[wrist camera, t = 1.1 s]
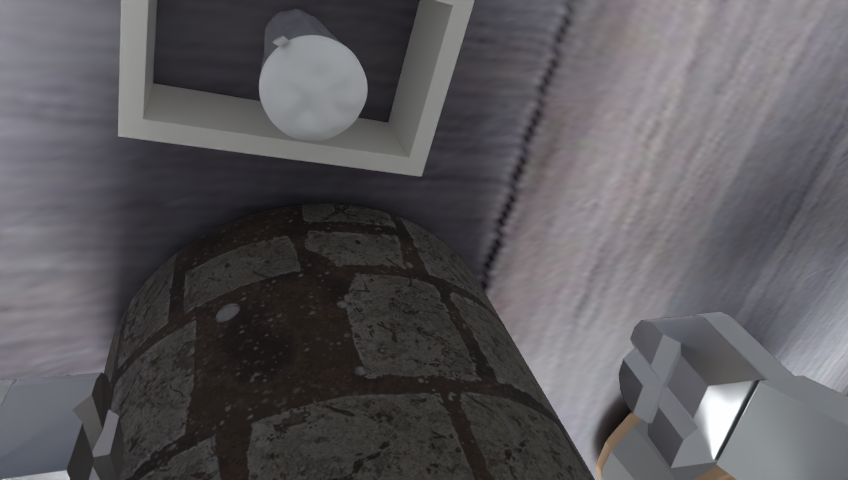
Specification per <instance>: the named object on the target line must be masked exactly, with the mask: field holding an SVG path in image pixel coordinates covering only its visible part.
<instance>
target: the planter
mask: <svg viewBox="0 0 848 480" xmlns="http://www.w3.org/2000/svg"><path fill="white" fill-rule="evenodd" d="M104 374H106V375H107V376H108V379H109V382H110V386H111V389H112V392H113V394H112V398H111V402H110V405H109V410H111V411H112V412H114V413H115V414H117V415H118V416H119V418H120V422H121V426H122V431H123V441H124V450H123V466H122V471H121V476H120V480H595V479H594V477H593V476H592V474H591V472H590V471H589V469H588V467H587V465H586V464H585V462H584V460H583V459H582V457H581V455H580V454H579V452H578V450H577V448H576V447H575V445H574V443H573V442H572V440H571V438H570V437H569V435H568V433H567V431H566V430H565V428H564V426H563V425H562V423H561V421H560V420H559V418H558V416H557V414H556V413H555V411H554V409H553V408H552V406H551V404H550V403H549V401H548V399H547V397H546V396H545V394H544V392H543V391H542V389H541V387H540V386H539V384H538V382H537V381H536V379H535V377H534V375H533V374H532V372H531V370H530V369H529V367H528V365H527V364H526V362H525V360H524V358H523V357H522V355H521V353H520V352H519V350H518V348H517V347H516V345H515V343H514V341H513V340H512V338H511V336H510V335H509V333H508V331H507V330H506V328H505V326H504V324H503V323H502V321H501V319H500V318H499V316H498V314H497V313H496V311H495V309H494V308H493V306H492V304H491V302H490V301H489V299H488V297H487V296H486V294H485V292H484V291H483V289H482V287H481V286H480V284H479V282H478V281H477V279H476V278H475V276H474V275H473V273H472V272H471V271H470V269H469V268H468V267H467V265H466V264H465V263H464V262H463V260H462V259H461V258H460V257H459V256H458V255H457V254H456V253H455V252H454V251H453V250H452V249H451V248H450V247H449V246H448V245H447V244H445V243H444V242H443V241H442V240H440V239H439V238H438V237H436V236H435V235H433V234H432V233H430V232H429V231H427V230H426V229H424V228H422V227H420V226H419V225H417V224H415V223H413V222H411V221H408V220H406V219H404V218H401V217H399V216H396V215H393V214H390V213H387V212H383V211H380V210H376V209H371V208H366V207H361V206H354V205H345V204H304V205H295V206H287V207H281V208H276V209H271V210H267V211H263V212H259V213H256V214H252V215H249V216H246V217H243V218H240V219H237V220H235V221H232V222H230V223H227V224H225V225H223V226H220V227H218V228H216V229H214V230H212V231H210V232H208V233H206V234H205V235H203V236H201V237H199V238H198V239H196V240H194V241H193V242H191V243H190V244H188V245H187V246H185V247H184V248H182V249H181V250H180V251H178V252H177V253H176V254H174V255H173V256H172V257H171V258H169V259H168V260H167V261H166V262H165V263H164V264H162V265H161V266H160V267H159V268H158V269H157V270H156V271H155V272H154V273H153V274H152V275H151V276H150V277H149V279H148V280H147V281H146V282H145V283H144V284H143V286H142V287H141V288H140V289H139V291H138V292H137V294H136V295H135V296H134V298H133V299H132V301H131V302H130V304H129V306H128V307H127V309H126V311H125V313H124V315H123V317H122V319H121V321H120V323H119V325H118V327H117V330H116V332H115V335H114V338H113V341H112V344H111V347H110V351H109V354H108V358H107V362H106V366H105V371H104Z"/></svg>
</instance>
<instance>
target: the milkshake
mask: <svg viewBox="0 0 848 480" xmlns="http://www.w3.org/2000/svg"><path fill="white" fill-rule="evenodd" d="M367 91H368V88H367V80H366V76H365V73H364V70H363V68H362V66H361V64H360V62H359V60H358V59H357V57H356V56H355V55H354V53H353V52H352V51H351V50H350V49H348V48H347V47H346V46H344V45H343V44H342V43H341V42H340V41H339V40H337V39H336V38H335V37H334V36H333V35H332V34H331V32H330V31H329V30H328V29H327V28H326V27H325V26H324V25H323V24H322V23H321V22H320V21H319V20H318V19H317V18H316V17H314V16H312V15H310V14H308V13H306V12H304V11H302V10H300V9H298V8H297V9H292V10H286V11H281V12H278V13H277V14H276V15H275V16H274V17H273V19H272V20H271V21H270V22H269V23H268V24H267V26H266V27H265V42H264V55H263V61H262V67H261V73H260V80H259V95H260V100H261V103H262V106H263V108H264V110H265V112H266V114H267V115H268V117H269V118H270V120H271V121H272V123H273V124H274V125H275V126H276V127H277V128H278V129H279V130H281V131H282V132H283V133H285V134H287V135H288V136H290V137H293V138H296V139H301V140H326V139H329V138H332V137H334V136H336V135H338V134H340V133H341V132H343V131H344V130H346V129H347V128H348V127H350V126H351V125H352V124H353V123H354V122H355V120H356V119H357V118H358V116H359V114H360V113H361V111H362V109H363V107H364V104H365V102H366V98H367Z"/></svg>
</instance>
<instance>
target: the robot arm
mask: <svg viewBox="0 0 848 480" xmlns="http://www.w3.org/2000/svg"><path fill="white" fill-rule="evenodd" d="M630 340H631V341H632V343H633V345H634V347H635V348H634V349H633V350H632V351H631V352H630V353H629V354H628V355H627V356H626V357H625V358H624V359H623V362H622V365H621V368H620V372H619V380H620V390H621V393H622V395H623V398H624V400H625V402H626V404H627V405H628V407H629V408H630V410H631V411H632V413H633V414H634V415H636V416H638V417H639V418H641V419H643V420H644V421H646V422H648V436H649V438H650V439H651V441H652V442H653V443H654V445H655V446H656V448H657V449H658V451H659V452H660V454H661V455H662V456H663V458H664V459H665V461H666V462H667V464H668V465H669V466H670V468H675V467H682V466H689V465H697V464H704V463H711V462H717V464H716V465H718V466H719V467H720V468H722V469H723V470H725V471H726V472H727V473H729V474H730V475H731V476H733V477H734V478H735V479H737V480H848V396H846V395H844V394H841V393H839V392H837V391H835V390H833V389H831V388H828V387H826V386H824V385H822V384H820V383H818V382H816V381H813V380H811V379H809V378H807V377H805V376H794V375H793V374H792V373H791V372H790V371H789V370H787V369H786V368H785V367H784V366H783V365H782V364H781V363H780V362H779V361H778V360H777V359H776V358H775V357H774V356H773V355H771V354H770V353H769V352H768V351H767V350H766V349H765V348H764V347H763V346H762V345H761V344H760V343H759V342H758V341H757V340H755V339H754V338H753V337H752V336H751V335H750V334H749V333H748V332H747V331H746V330H745V329H744V328H743V327H742V326H741V325H739V324H738V323H737V322H736V321H735V320H734V319H733V318H732V317H731V316H729V315H727V314H725V313H722V312H712V313H703V314H695V315H692V316H690V315H688V316H679V317H669V318H660V319H651V320H641V321H640V322H639V323H638V324H637V325H636V326H635V327H634V330H633V333H632V336H631V338H630ZM112 394H113V392H112V389H111V386H110V382H109V379H108V376H107V375H106V374H104V373H89V374H76V375H63V376H49V377H36V378H23V379H19V380H8V381H0V480H120V476H121V471H122V466H123V450H124V441H123V431H122V426H121V422H120V418H119V416H118V415H117V414H115V413H114V412H112V411H111V410H109V405H110V402H111V398H112Z"/></svg>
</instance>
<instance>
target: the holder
mask: <svg viewBox="0 0 848 480" xmlns="http://www.w3.org/2000/svg"><path fill="white" fill-rule="evenodd" d="M474 1H475V0H420V1H419V5H418V9H417V13H416V16H415V20H414V24H413V28H412V32H411V36H410V40H409V44H408V47H407V51H406V55H405V59H404V63H403V67H402V71H401V75H400V78H399V82H398V86H397V90H396V94H395V98H394V102H393V105H392V109H391V113H390V117H389V121H388V122H382V121H376V120H370V119H364V118H357V119H356V120H355V122H354V123H353V124H352V125H351V126H350V127H348V128H347V129H346V130H344V131H343V132H341V133H340V134H338V135H336V136H334V137H332V138H329V139H326V140H301V139H296V138H293V137H290V136H288V135H287V134H285V133H283V132H282V131H281V130H279V129H278V128H277V127H276V126H275V125H274V124H273V123H272V121H271V120H270V118H269V117H268V115H267V114H266V112H265V110H264V108H263V106H262V103H261V101H257V100H251V99H245V98H239V97H233V96H227V95H221V94H215V93H209V92H203V91H197V90H191V89H185V88H179V87H173V86H167V85H161V84H155V83H153V72H154V52H155V33H156V13H157V0H121V21H120V66H119V111H118V136H120V137H127V138H135V139H142V140H150V141H157V142H165V143H172V144H180V145H187V146H195V147H202V148H210V149H217V150H225V151H232V152H240V153H247V154H255V155H262V156H270V157H277V158H285V159H292V160H300V161H307V162H315V163H322V164H330V165H337V166H345V167H353V168H360V169H368V170H375V171H383V172H390V173H398V174H405V175H413V176H420V177H422V174H423V170H424V167H425V164H426V160H427V157H428V154H429V150H430V147H431V144H432V141H433V137H434V134H435V131H436V127H437V124H438V121H439V117H440V114H441V111H442V107H443V104H444V101H445V97H446V94H447V91H448V88H449V84H450V81H451V78H452V74H453V71H454V68H455V64H456V61H457V58H458V54H459V51H460V48H461V44H462V41H463V38H464V35H465V31H466V28H467V25H468V21H469V18H470V15H471V11H472V8H473V5H474Z"/></svg>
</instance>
